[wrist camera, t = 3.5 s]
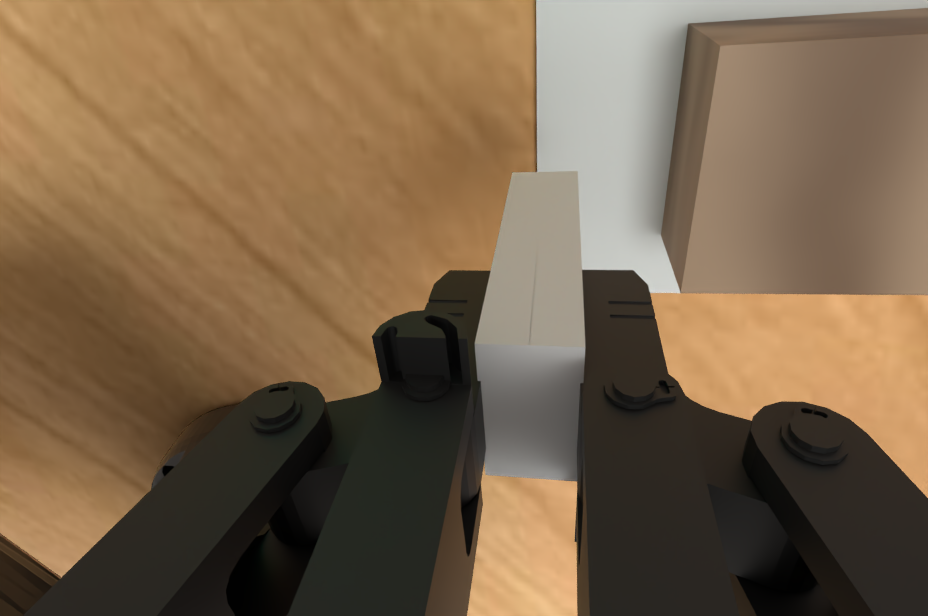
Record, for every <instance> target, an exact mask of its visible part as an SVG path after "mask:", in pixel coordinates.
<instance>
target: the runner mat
mask: <svg viewBox="0 0 928 616" xmlns="http://www.w3.org/2000/svg"><path fill="white" fill-rule="evenodd" d="M919 8H928V0H536V46H537V172H557V171H578V190H579V213H580V236H581V258H582V270H634V271H635V272H636V273H637V274H638V275H639V276H640V277H641V278H642V279H643V280H644V281H645V282H646V283H647V284H648V287H649V292H650V293H680V290H679V287H678V284H677V281H676V278H675V275H674V272H673V269H672V266H671V263H670V261H669V258H668V255H667V252H666V249H665V246H664V243H663V240H662V237H661V230H662V223H663V215H664V207H665V200H666V192H667V184H668V176H669V169H670V161H671V153H672V145H673V138H674V130H675V122H676V114H677V107H678V99H679V91H680V84H681V76H682V68H683V60H684V53H685V45H686V37H687V29H688V23H703V22H718V21H734V20H749V19H764V18H780V17H795V16H811V15H826V14H842V13H857V12H872V11H888V10H903V9H919Z"/></svg>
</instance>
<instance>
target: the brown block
mask: <svg viewBox="0 0 928 616" xmlns="http://www.w3.org/2000/svg"><path fill="white" fill-rule="evenodd" d="M661 237H662V240H663V243H664V246H665V249H666V252H667V255H668V258H669V261H670V263H671V266H672V269H673V272H674V275H675V278H676V281H677V284H678V287H679V290H680V293H723V294H854V295H928V8H919V9H903V10H888V11H872V12H857V13H842V14H826V15H811V16H795V17H780V18H764V19H749V20H734V21H718V22H703V23H688V29H687V37H686V45H685V53H684V60H683V68H682V76H681V84H680V91H679V99H678V107H677V114H676V122H675V130H674V138H673V145H672V153H671V161H670V169H669V176H668V184H667V192H666V200H665V207H664V215H663V223H662V230H661Z"/></svg>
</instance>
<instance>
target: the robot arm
mask: <svg viewBox="0 0 928 616" xmlns="http://www.w3.org/2000/svg"><path fill="white" fill-rule="evenodd" d="M372 339H373V344H374V348H375V353H376V358H377V363H378V367H379V372H380V377H381V381H382V382H381V384H380V387H379V389H378V390H375V391H373V392H371V393H368V394H365V395H361V396H357V397H352V398H347V399H342V400H337V401H332V402H325V399H324V397H323V395H322V394H321V393H320V391H319V390H318V388H316V387H314V386H312V385H309V384H307V383H304V382H291V381H289V382H283V383H278V384H273V385H270V386H267V387H265V388H263V389H261V390H258V391H256V392H254V393H253V394H251V395H250V396H249V397H247V398H246V399H245V400H243V401H242V402H241V403H239V404H238V405H232V406H226V407H223V408H219V409H216V410H213V411H210V412H208V413H206V414H204V415H202V416H200V417H199V418H197V419H196V420H194V421H193V422H192V423H191V424H190V425H188V426H187V427H186V429H185V430H184V431H183V432H182V434H181V435H180V436H179V438H178V439H177V440H176V442H175V443H174V444H173V446H172V447H171V448H170V450H169V451H168V452H167V454H166V455H165V457H164V458H163V460H162V461H161V463H160V465H159V467H158V469H157V471H156V474H155V477H154V480H153V483H152V488H151V491H150V492H149V493H148V494H146V495H145V496H144V497H143V498H142V499H141V500H140V501H139V502H138V503H137V504H136V505H135V506H134V507H133V508H132V509H131V510H130V511H129V512H128V513H127V514H126V515H125V516H124V517H123V518H122V519H121V520H120V521H119V522H118V523H117V524H116V525H115V526H114V527H113V528H112V529H111V530H110V531H109V532H108V533H107V534H106V535H105V536H104V537H103V538H102V539H101V540H100V541H98V542H97V543H96V544H95V545H94V546H93V547H92V548H91V549H90V550H89V551H88V552H87V553H86V554H85V555H84V556H83V557H82V558H81V559H80V560H79V561H78V562H77V563H76V564H75V565H74V566H73V567H72V568H71V569H70V570H69V571H68V572H67V573H66V574H65V575H64V576H63V577H62V578H61V577H60V576H58V575H57V574H56V573H54V572H53V571H52V570H50V569H49V568H47V567H46V566H45V565H43V564H42V563H40V562H39V561H38V560H36V559H35V558H34V557H32V556H31V555H29V554H28V553H27V552H25V551H24V550H22V549H21V548H20V547H18V546H17V545H15V544H14V543H13V542H11V541H10V540H9V539H7V538H6V537H4V536H3V535H2V534H0V616H467V611H468V604H469V597H470V590H471V583H472V576H473V569H474V562H475V554H476V547H477V540H478V533H479V526H480V519H481V512H482V505H483V502H482V491H481V478H482V472H483V465H484V461H485V473H486V475H495V476H509V477H523V478H537V479H551V480H565V481H577V488H578V489H577V507H576V526H575V542H577V606H578V616H928V498H927V497H926V496H925V495H924V494H923V493H922V492H921V491H920V489H919V488H918V487H917V486H916V485H915V484H914V483H913V482H912V481H911V480H910V479H909V478H908V477H907V476H906V475H905V473H904V472H903V471H902V470H901V469H900V468H899V467H898V466H897V465H896V464H895V463H894V462H893V461H892V460H891V458H890V457H889V456H888V455H887V454H886V453H885V452H884V451H883V450H882V449H881V448H880V447H879V446H878V445H877V443H876V442H875V441H874V440H873V439H872V438H871V437H870V436H869V435H868V434H867V433H866V432H865V431H863V430H862V429H861V428H860V427H858V426H857V425H856V424H855V423H854V422H852V421H851V420H850V419H848V418H846V417H844V416H842V415H840V414H838V413H836V412H834V411H832V410H830V409H828V408H825V407H821V406H817V405H813V404H809V403H805V402H778V403H775V404H771V405H768V406H764V407H763V408H762V409H761V410H760V411H759V412H758V413H757V414H756V415H754V416H753V419H752V421H750V420H746V419H743V418H739V417H735V416H732V415H728V414H724V413H721V412H718V411H715V410H712V409H709V408H706V407H704V406H702V405H700V404H698V403H696V402H694V401H692V400H691V399H689V398H688V397H687V396H685V394H684V392H683V390H682V388H681V387H680V385H679V383H678V381H676V380H675V379H674V378H673V377H672V376H670V375H669V374H668V371H667V367H666V362H665V358H664V353H663V349H662V345H661V340H660V336H659V331H658V327H657V322H656V319H655V314H654V309H653V305H652V300H651V296H650V292H649V287H648V284H647V283H646V282H645V281H644V280H643V279H642V278H641V277H640V276H639V275H638V274H637V273H636V272H635V271H634V270H582V258H581V236H580V213H579V190H578V171H557V172H512V177H511V181H510V186H509V190H508V195H507V199H506V204H505V208H504V213H503V217H502V222H501V226H500V231H499V235H498V240H497V244H496V249H495V253H494V258H493V263H492V267H491V271H457V270H450V271H448V272H447V273H446V274H445V275H444V276H443V277H442V278H441V279H439V280H438V281H437V282H436V283H435V284H434V286H433V289H432V292H431V294H430V297H429V303H427V305H426V308H425V310H423V311H412V312H408V313H405V314H402V315H399V316H395V317H393V318H392V319H390V320H388V321H387V322H385V323H384V324H382V325H380V327H379V328H378V329H377V330H376V332H375V333H374V334H373V335H372Z"/></svg>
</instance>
